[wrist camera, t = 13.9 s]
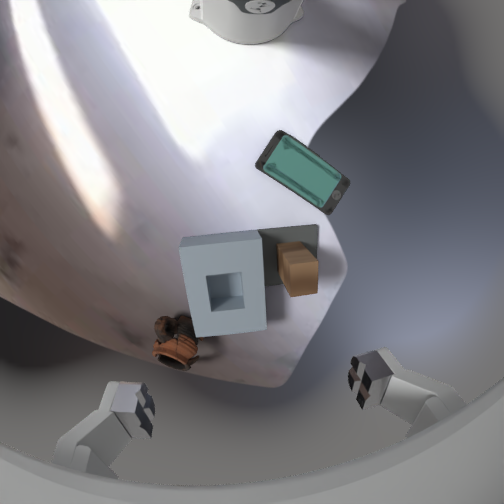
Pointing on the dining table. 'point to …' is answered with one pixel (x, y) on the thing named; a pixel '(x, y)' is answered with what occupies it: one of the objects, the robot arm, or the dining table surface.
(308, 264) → the walnut block
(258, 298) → the pocket holder
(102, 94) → the dining table surface
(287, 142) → the smartphone
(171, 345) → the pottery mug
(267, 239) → the rubber mat
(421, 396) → the robot arm
